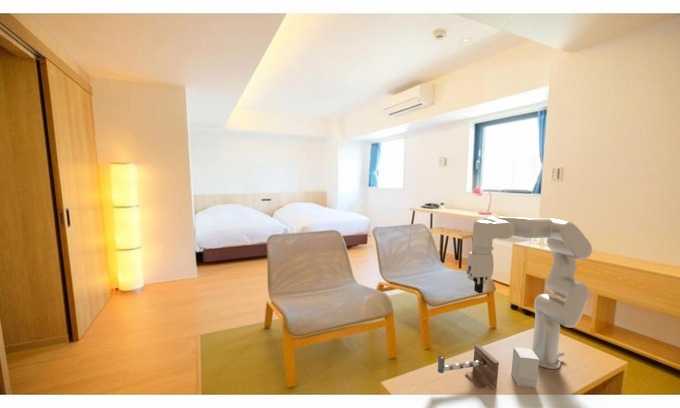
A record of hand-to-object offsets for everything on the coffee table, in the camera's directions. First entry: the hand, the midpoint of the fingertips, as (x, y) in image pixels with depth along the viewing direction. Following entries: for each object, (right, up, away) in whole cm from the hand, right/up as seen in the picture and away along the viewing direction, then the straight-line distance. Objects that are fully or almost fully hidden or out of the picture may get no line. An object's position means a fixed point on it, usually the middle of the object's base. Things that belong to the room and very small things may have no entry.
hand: (478, 291), depth 124 cm
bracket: (0, -37, 0) cm, 37 cm away
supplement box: (+19, -38, 0) cm, 42 cm away
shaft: (-9, -31, -3) cm, 32 cm away
